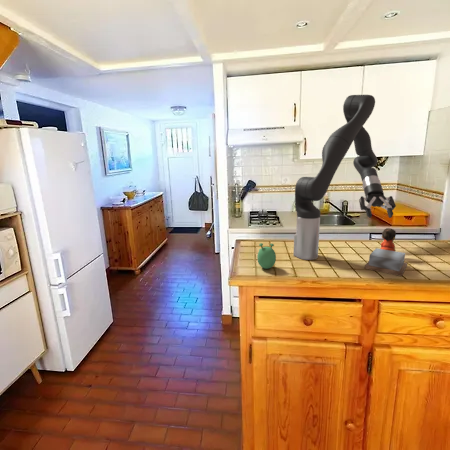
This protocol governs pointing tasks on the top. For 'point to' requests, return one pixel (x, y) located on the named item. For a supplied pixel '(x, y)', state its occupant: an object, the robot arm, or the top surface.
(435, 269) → the top surface
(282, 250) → the top surface
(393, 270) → the pedestal
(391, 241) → the figurine
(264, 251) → the alien toy
